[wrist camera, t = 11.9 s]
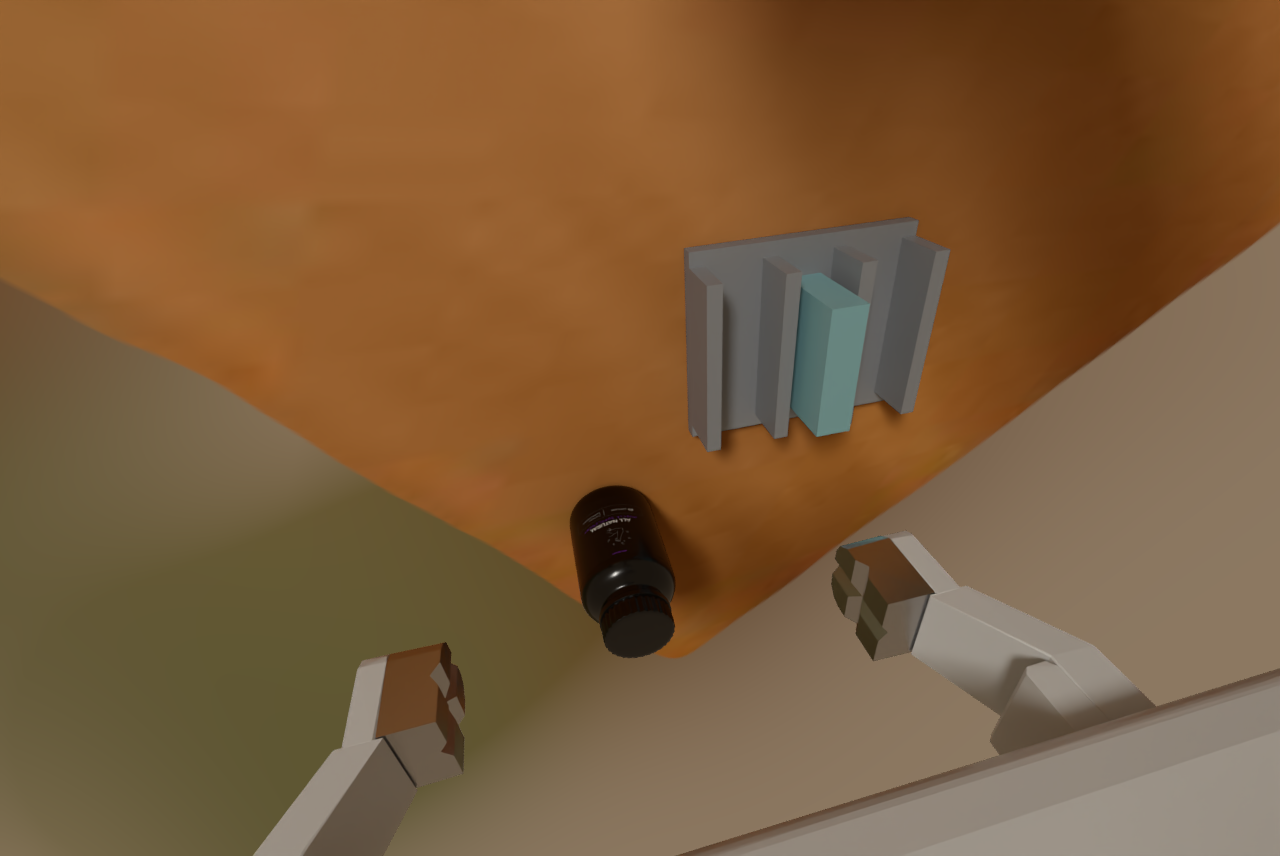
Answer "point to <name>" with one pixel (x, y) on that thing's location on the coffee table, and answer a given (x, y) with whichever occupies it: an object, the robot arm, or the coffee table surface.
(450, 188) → the coffee table surface
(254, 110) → the coffee table surface
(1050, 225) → the coffee table surface
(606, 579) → the supplement bottle
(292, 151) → the coffee table surface
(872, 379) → the rack
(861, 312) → the teal upright panel
